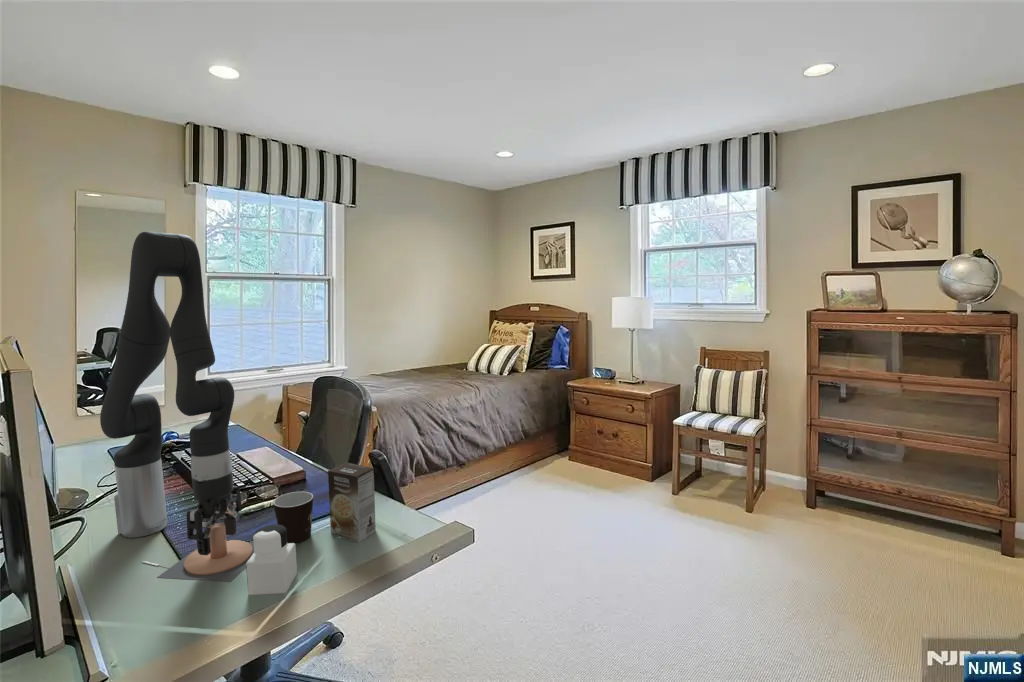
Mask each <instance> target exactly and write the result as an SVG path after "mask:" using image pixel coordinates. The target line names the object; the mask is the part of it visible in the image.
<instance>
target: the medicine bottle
mask: <svg viewBox="0 0 1024 682" xmlns="http://www.w3.org/2000/svg"><path fill="white" fill-rule="evenodd" d="M252 539H253V540H252V541H253V542H254V554H253V555H252V556H251V557H250V559H249V560H248V561H247V563H246V568H245V569H246V570H245V571H246V579H247V594H248V596H255V595H272V594H286V593H288V590H289V588H290V587H291V585H292V583H293V581H294V580H295V578H296V576H297V575H298V568H297V567H298V565H297V563H298V562H297V550H296V549H297V548H296V544H295V543H287V529H286V527H284V526H283V525H278V524H268V525H265V526H262V527H260V528H258V529H257V530H256V531H254V533H253V535H252Z"/></svg>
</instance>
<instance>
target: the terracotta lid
mask: <svg viewBox="0 0 1024 682" xmlns="http://www.w3.org/2000/svg"><path fill="white" fill-rule="evenodd" d="M208 537H210V549H211V553H210V554H208V555H200V554H199V553H198V550H196V551H194V550H193V551H194V552H193V553H191V552H190V553H191V554H190V553H189V554H190V555H189V556H188V557H187V558H186V559H185V561H184V569H185V571H186V572H187V573H189V574H192V575H213V574H218V573H222V572H225V571H228V570H231V569H233V568H235V567H238V566H239V565H241V564H243V563H244V562H246V561H247V560H248V559H249V558H250V557H251V555H252V552H253V551H252V545H251V544H250V543H248V542H245V541H241V539H228V540H229V541H226V539H227V535H226V529H225V524H224V522H220V523H218V522H217V523H215V525H214V527H212V528H211V530H210V533H209V536H208Z"/></svg>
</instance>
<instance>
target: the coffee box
mask: <svg viewBox="0 0 1024 682" xmlns="http://www.w3.org/2000/svg"><path fill="white" fill-rule="evenodd" d="M374 470H375V469H374V467H371V466H370V467H369V466H366V465H361V464H356V463H351V462H348V461H345V462H343V463H341V464H339V465H337V466H334V467H333V468H330V469H329V470H328V471H327V480H328V481H327V482H328V497H329V498H328V499H329V501H328V502H329V515H330V516H329V521H330V534H335V535H337V536H338V537H339V538H343V539H345V540H350V541H354V542H357V543H360V542H362V541H363V540H365V539H366V538H368V537H369V536H370V535H372V534H374V533H375V532H377V531H376V530H377V529H376V501H375V499H376V497H375V473H374V472H375V471H374Z"/></svg>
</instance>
